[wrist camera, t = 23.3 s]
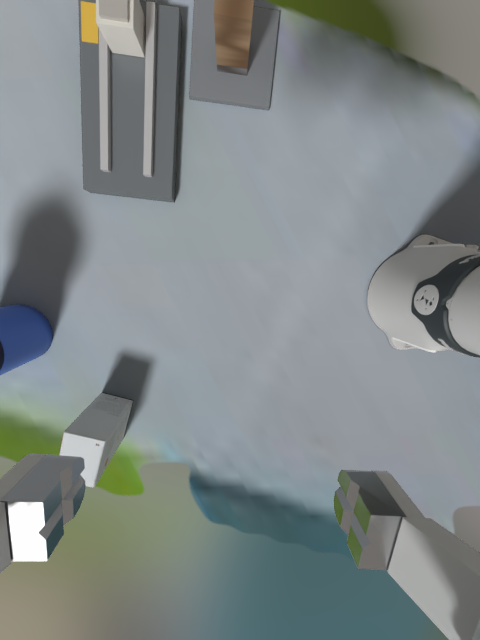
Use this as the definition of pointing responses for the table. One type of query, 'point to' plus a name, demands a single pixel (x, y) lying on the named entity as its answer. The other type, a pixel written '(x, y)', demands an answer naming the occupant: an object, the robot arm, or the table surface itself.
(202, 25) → the mat
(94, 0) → the switch panel
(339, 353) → the table surface
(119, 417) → the small box
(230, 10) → the wooden block
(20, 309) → the water bottle
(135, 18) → the switch tab
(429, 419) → the table surface
